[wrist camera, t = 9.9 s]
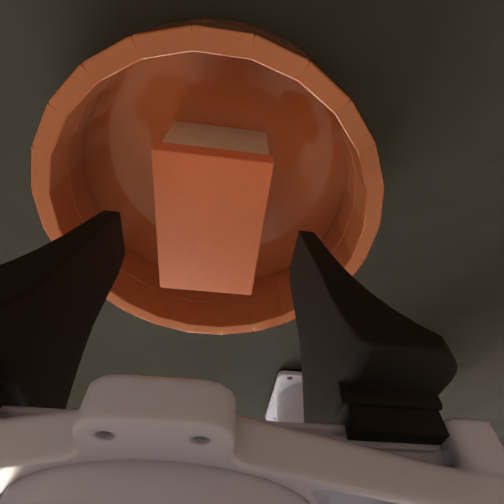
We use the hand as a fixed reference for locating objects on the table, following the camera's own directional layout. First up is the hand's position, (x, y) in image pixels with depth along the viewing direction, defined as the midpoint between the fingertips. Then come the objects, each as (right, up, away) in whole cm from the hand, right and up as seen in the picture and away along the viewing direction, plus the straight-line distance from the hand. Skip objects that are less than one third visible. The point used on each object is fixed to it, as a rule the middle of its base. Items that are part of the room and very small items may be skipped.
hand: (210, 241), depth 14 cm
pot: (0, +3, +4) cm, 5 cm away
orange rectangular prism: (0, +3, +3) cm, 4 cm away
